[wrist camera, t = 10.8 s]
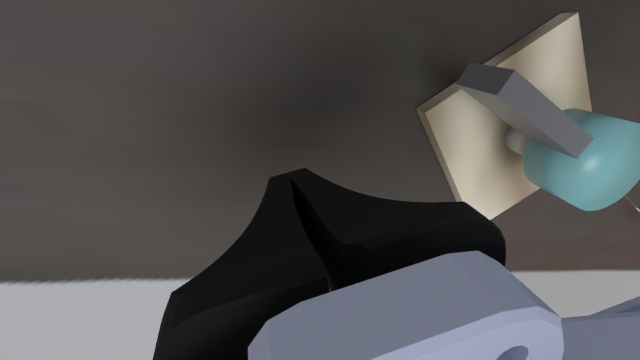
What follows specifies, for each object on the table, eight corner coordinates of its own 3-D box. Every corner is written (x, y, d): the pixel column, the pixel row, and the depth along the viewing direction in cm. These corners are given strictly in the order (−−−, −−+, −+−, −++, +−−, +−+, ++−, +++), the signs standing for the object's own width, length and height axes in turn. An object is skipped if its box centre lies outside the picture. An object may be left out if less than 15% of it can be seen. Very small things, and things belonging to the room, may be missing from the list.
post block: (561, 13, 22) (629, 11, 18) (582, 146, 27) (639, 166, 23) (415, 108, 22) (453, 126, 18) (464, 221, 27) (502, 253, 23)
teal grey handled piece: (608, 131, 21) (667, 149, 18) (553, 197, 22) (600, 222, 19) (492, 26, 16) (548, 26, 13) (431, 116, 18) (470, 134, 15)
